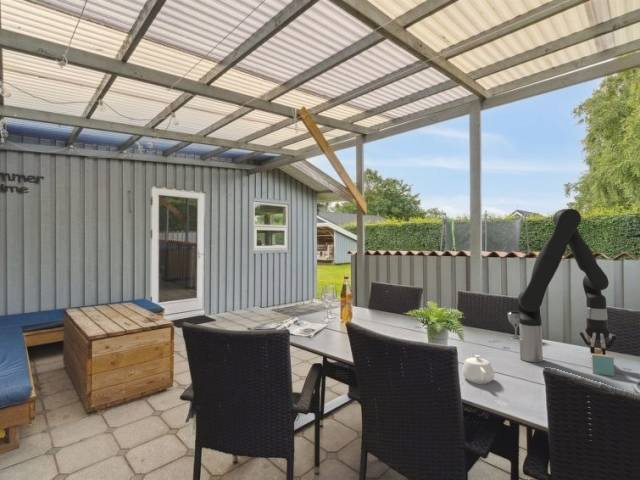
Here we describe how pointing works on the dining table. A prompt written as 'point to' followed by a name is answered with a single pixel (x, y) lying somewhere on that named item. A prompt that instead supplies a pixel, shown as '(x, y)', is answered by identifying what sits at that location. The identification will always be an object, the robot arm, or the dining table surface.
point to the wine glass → (514, 322)
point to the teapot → (478, 370)
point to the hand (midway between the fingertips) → (597, 355)
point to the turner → (597, 351)
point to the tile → (603, 364)
